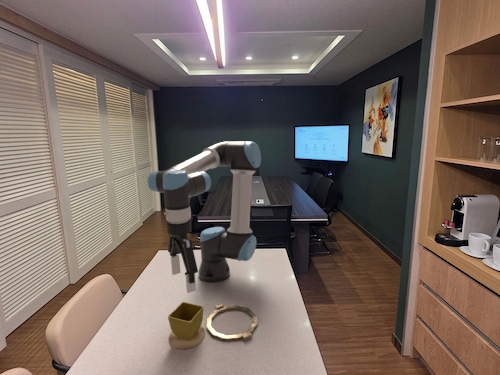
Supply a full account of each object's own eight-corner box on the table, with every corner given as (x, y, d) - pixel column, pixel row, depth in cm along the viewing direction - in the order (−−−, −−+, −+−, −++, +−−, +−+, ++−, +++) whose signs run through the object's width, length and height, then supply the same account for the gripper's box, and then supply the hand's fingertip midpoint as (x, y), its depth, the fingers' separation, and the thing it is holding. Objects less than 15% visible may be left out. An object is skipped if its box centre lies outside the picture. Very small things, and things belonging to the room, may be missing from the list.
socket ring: (197, 316, 106) (197, 313, 106) (238, 300, 116) (237, 297, 116) (224, 352, 89) (224, 347, 89) (269, 329, 99) (269, 325, 99)
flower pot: (191, 347, 91) (190, 322, 89) (169, 340, 94) (167, 316, 92) (205, 329, 99) (204, 306, 97) (184, 323, 102) (182, 301, 100)
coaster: (164, 333, 98) (164, 331, 98) (196, 320, 105) (196, 318, 105) (176, 355, 88) (175, 353, 88) (210, 339, 95) (210, 337, 95)
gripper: (155, 213, 97) (160, 270, 101) (181, 234, 76) (186, 304, 80) (176, 209, 101) (181, 264, 105) (206, 228, 80) (210, 295, 85)
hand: (183, 282), depth 93 cm, fingers open, 13 cm apart
